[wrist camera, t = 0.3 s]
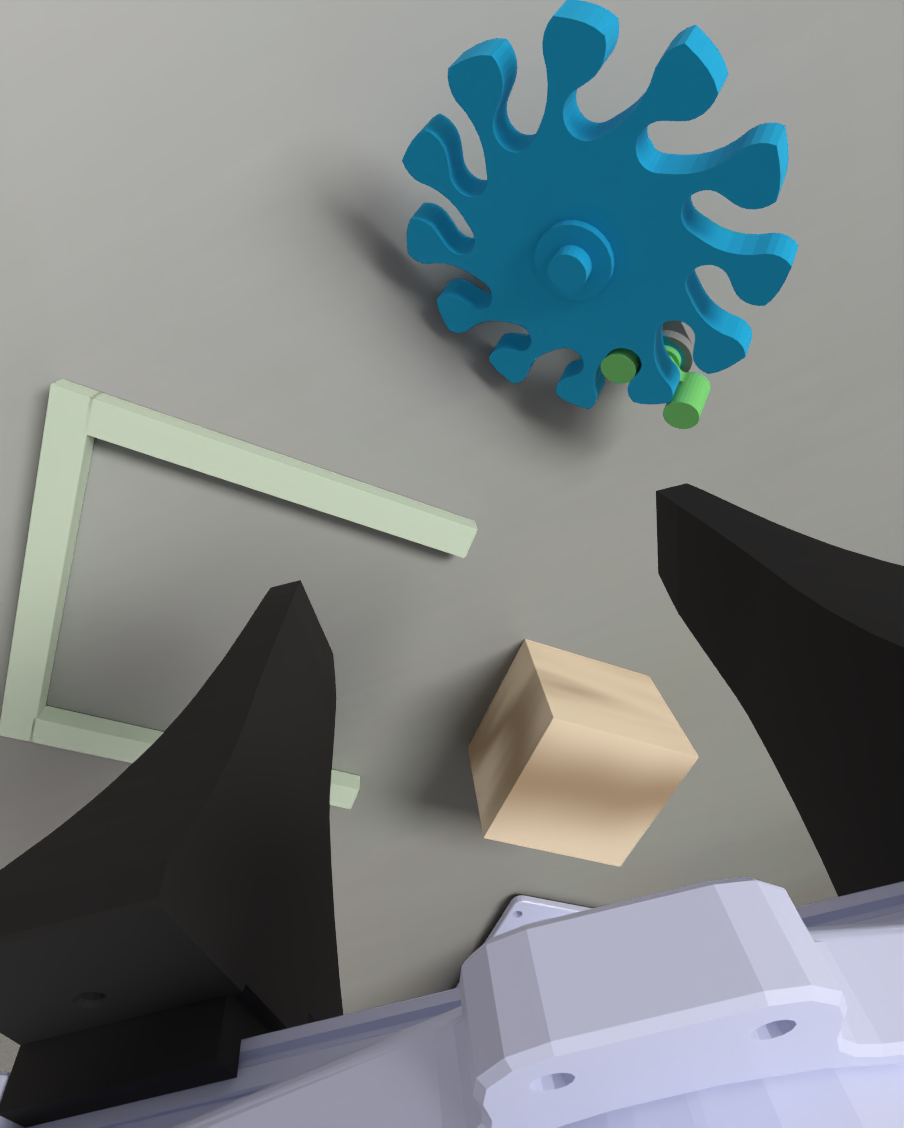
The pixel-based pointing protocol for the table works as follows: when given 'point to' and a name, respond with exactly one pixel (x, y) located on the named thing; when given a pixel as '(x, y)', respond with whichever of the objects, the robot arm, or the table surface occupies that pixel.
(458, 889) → the table surface
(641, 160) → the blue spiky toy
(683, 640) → the table surface
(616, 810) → the block
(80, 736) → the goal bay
